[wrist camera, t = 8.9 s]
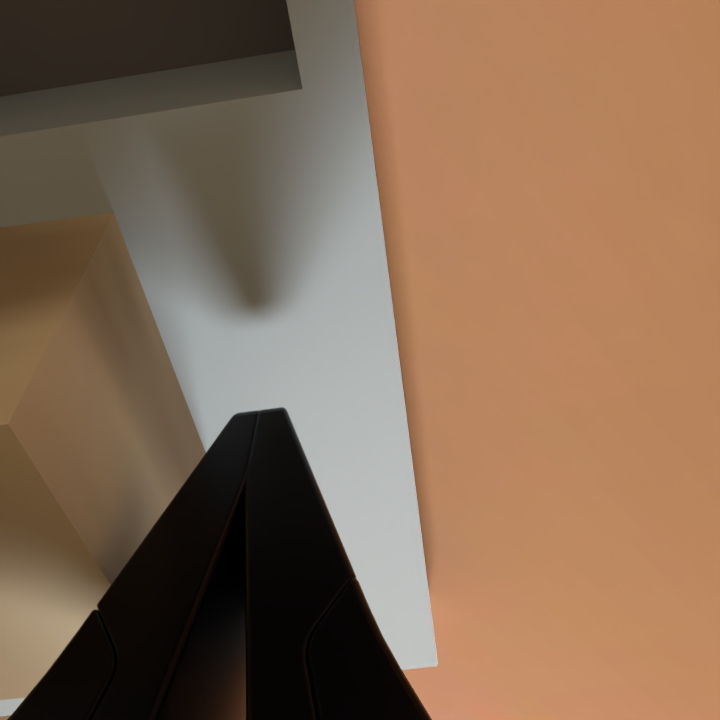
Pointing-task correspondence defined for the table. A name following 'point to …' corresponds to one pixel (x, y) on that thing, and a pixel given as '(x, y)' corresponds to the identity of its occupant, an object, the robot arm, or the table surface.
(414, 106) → the table surface
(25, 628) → the maple block
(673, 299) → the table surface
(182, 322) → the tray
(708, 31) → the table surface
